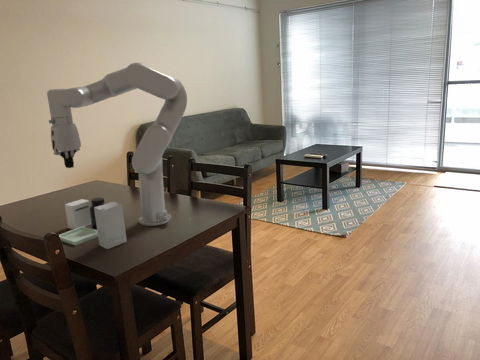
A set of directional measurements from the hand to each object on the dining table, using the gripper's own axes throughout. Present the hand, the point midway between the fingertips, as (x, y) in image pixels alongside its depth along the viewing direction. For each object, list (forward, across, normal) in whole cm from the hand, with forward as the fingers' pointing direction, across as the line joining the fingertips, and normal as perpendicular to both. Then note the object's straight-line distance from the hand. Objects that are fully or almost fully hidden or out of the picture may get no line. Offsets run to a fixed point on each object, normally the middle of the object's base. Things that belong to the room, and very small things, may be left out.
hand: (69, 167), depth 162 cm
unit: (+24, -1, -3) cm, 24 cm away
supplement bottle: (+24, +2, -12) cm, 27 cm away
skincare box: (+25, -7, -30) cm, 39 cm away
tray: (+24, -9, -14) cm, 29 cm away
